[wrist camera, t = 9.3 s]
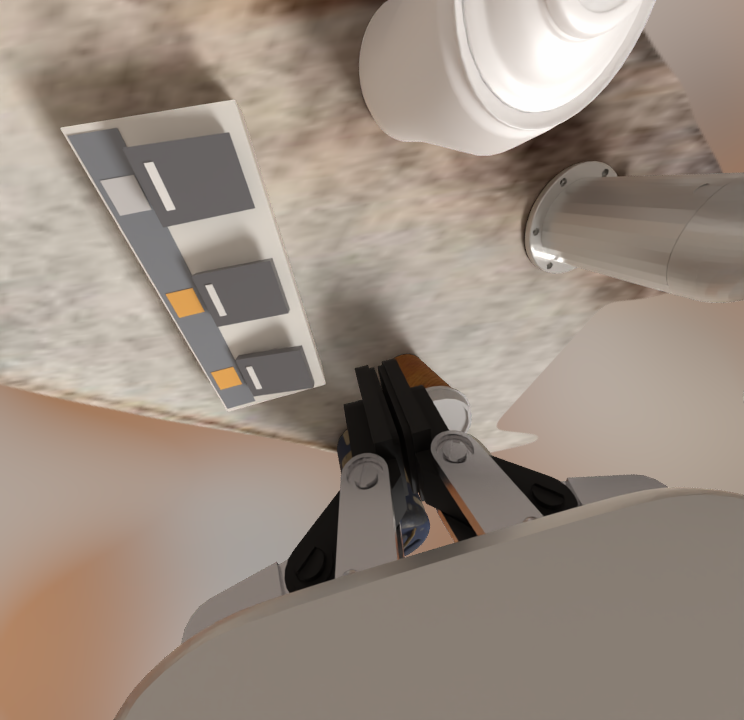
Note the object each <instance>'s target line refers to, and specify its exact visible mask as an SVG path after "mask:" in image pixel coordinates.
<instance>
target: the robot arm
mask: <svg viewBox="0 0 744 720" xmlns="http://www.w3.org/2000/svg"><path fill="white" fill-rule="evenodd" d="M525 247H526V252H527V255H528V257H529V259H530V261H531V262H532V263H533V265H534V266H536V267H537V268H538V269H540V270H543V271H545V272H549V273H554V274H555V273H564V272H568V271H571V270H573V269H575V268H577V267H578V268H582V269H585V270H589V271H592V272H596V273H599V274H603V275H606V276H610V277H614V278H617V279H621V280H624V281H628V282H631V283H635V284H638V285H642V286H645V287H649V288H653V289H656V290H660V291H663V292H667V293H670V294H674V295H678V296H682V297H686V298H689V299H693V300H697V301H702V302H711V303H713V302H714V303H726V302H735V301H741V300H744V173H716V174H683V175H650V176H617V174H616V172H615V171H614V170H613V169H612V168H611V167H610V166H609V165H607V164H605V163H603V162H598V161H588V162H582V163H577V164H574V165H572V166H570V167H568V168H566V169H565V170H563V171H562V172H560V173H559V174H557V175H556V176H555V177H554V178H553V179H552V180H551V181H550V182H549V183H548V184H547V185H546V187H545V188H544V189H543V190H542V192H541V193H540V195H539V196H538V198H537V200H536V201H535V203H534V205H533V208H532V210H531V212H530V214H529V218H528V221H527V224H526V231H525ZM355 371H356V375H357V380H358V384H359V388H360V392H361V396H362V400H360V401H356V402H352V403H348V404H344V410H345V416H346V423H347V429H348V435H349V441H350V448H351V454H352V458H351V459H350V460H349V461H348V462H347V463H346V464H345V466H344V468H343V469H342V474H341V485H340V491H339V492H338V493H337V495H336V496H335V497H334V498H333V500H332V501H331V502H330V504H329V505H328V507H327V508H326V509H325V510H324V512H323V513H322V514H321V516H320V517H319V518H318V519H317V521H316V522H315V523H314V525H313V526H312V527H311V528H310V530H309V531H308V532H307V534H306V535H305V536H304V538H303V539H302V540H301V542H300V543H299V544H298V545H297V547H296V548H295V549H294V551H293V552H292V554H291V556H290V557H289V559H288V560H286V561H284V562H283V563H281V564H278V563H277V562H276V563H274V564H272V565H270V566H268V567H266V568H265V569H263V570H261V571H260V572H257V573H256V574H254V575H252V576H250V577H248V578H246V579H245V580H243V581H241V582H239V583H237V584H236V585H234V586H232V587H230V588H229V589H227V590H225V591H223V592H221V593H219V594H217V595H216V596H214V597H212V598H210V599H209V600H207V601H206V602H205V603H203V604H202V605H201V606H199V608H198V609H197V610H196V611H195V613H194V614H193V615H192V616H191V618H190V620H189V622H188V624H187V626H186V627H185V630H184V634H183V638H182V643H181V645H180V646H179V647H177V648H176V649H175V650H174V651H173V652H171V653H170V654H169V655H168V656H166V657H165V658H164V659H163V660H162V661H161V662H160V663H159V664H158V665H156V666H155V667H154V668H153V669H152V670H151V671H150V672H149V673H148V674H147V675H146V676H145V677H144V678H143V679H142V680H141V682H140V683H139V684H138V685H137V686H136V687H135V688H134V690H133V691H132V692H131V693H130V695H129V696H128V697H127V699H126V700H125V702H124V704H123V705H122V707H121V708H120V710H119V711H118V713H117V715H116V716H115V718H114V720H744V495H743V494H738V493H733V492H728V491H722V490H714V489H704V488H689V487H671V488H668V487H667V486H666V485H664V484H663V483H661V482H659V481H657V480H656V479H653V478H650V477H647V476H644V475H613V476H595V477H576V478H567V480H566V481H563V482H560V481H559V480H557V479H555V478H552V477H550V476H547V475H545V474H542V473H539V472H536V471H533V470H530V469H528V468H525V467H522V466H519V465H516V464H514V463H511V462H508V461H505V460H502V459H499V458H497V457H494V456H491V455H488V453H487V452H486V451H485V450H484V449H483V448H482V447H481V446H480V444H479V443H478V442H477V441H476V440H475V439H474V438H473V437H472V436H470V435H469V434H467V433H465V432H462V431H457V430H449V429H448V427H447V425H446V424H445V422H444V420H443V418H442V417H441V415H440V413H439V411H438V410H437V408H436V406H435V405H434V403H433V401H432V399H431V398H430V396H429V394H428V392H427V391H426V389H425V387H424V386H423V385H419V386H415V387H411V388H410V386H409V384H408V382H407V380H406V378H405V376H404V374H403V372H402V370H401V368H400V366H399V364H398V362H397V360H396V359H395V358H394V359H390V360H386V361H382V365H381V366H378V371H379V376H380V381H381V386H382V388H381V386H380V383H379V380H378V377H377V374H376V372H375V369H374V367H373V368H369V367H368V365H366V366H362V367H358V368H355ZM743 400H744V393H743ZM404 468H405V470H404ZM405 471H406V474H407V477H408V480H409V483H410V486H411V489H412V492H413V494H414V493H418V492H419V495H420V498H421V501H425V502H426V504H429V505H431V506H433V507H434V508H436V510H437V513H438V515H439V517H440V518H441V520H442V522H443V524H444V526H445V527H446V529H447V531H448V532H449V535H450V536H451V538H452V540H453V542H454V543H453V544H449V545H446V546H443V547H439V548H436V549H432V550H429V551H426V552H422V553H419V554H416V555H412V556H409V557H406V558H405V557H404V549H403V541H402V532H401V525H400V521H401V519H402V517H403V516H404V514H405V512H406V510H407V504H406V498H405V496H407V495H409V493H408V487H407V481H406V476H405Z"/></svg>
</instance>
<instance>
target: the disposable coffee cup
mask: <svg viewBox="0 0 744 720" xmlns="http://www.w3.org/2000/svg"><path fill="white" fill-rule="evenodd" d="M395 359H396V360H397V362H398V364H399V366H400V368H401V370H402V372H403V374H404V376H405V378H406V380H407V382H408V384H409V386H410V388H411V387H415V386H419V385H423V386H424V387H425V389H426V391H427V392H428V394H429V396H430V398H431V399H432V401H433V403H434V405H435V406H436V408H437V410H438V411H439V413H440V415H441V417H442V418H443V420H444V422H445V424H446V425H447V427H448V429H449V430H457V431H462V432H465V433H467V432H468V430H469V428H470V426H471V421H472V414H471V410H470V404H469V401H468V399H467V398H466V396H465V395H464V394H462V393H461V392H460V391H458V390H456V389H453V388H451V387H450V386H449V385H448V384H447V383H446V382H445V381H444V380H442V379H441V378H440V377H439V376H438V375H437V374H436V373H435V372H434V371H432V370H431V369H430V368H429V367H428V366H427V365H426V364H425V363H424V362H422V361H421V360H420V359H419V358H418V357H416V356H415V355H411V354H403V355H400V356H397V357H395Z"/></svg>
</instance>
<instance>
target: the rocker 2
mask: <svg viewBox="0 0 744 720" xmlns="http://www.w3.org/2000/svg"><path fill="white" fill-rule="evenodd" d="M235 361H236V363H237V365H238V367H239V369H240V371H241V373H242V375H243V377H244V379H245V381H246V383H247V385H248V387H249V389H250V391H251V393H252V395H253V397H254V396H261V395H268V394H275V393H282V392H289V391H296V390H303V389H310V388H314V384H315V382H314V379H313V376H312V373H311V370H310V367H309V364H308V361H307V358H306V356H305V353H304V350H303V347H302V345H300V346H294V347H287V348H281V349H274V350H268V351H262V352H255V353H249V354H242V355H238V357H237V358H236V360H235Z"/></svg>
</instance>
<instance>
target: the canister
mask: <svg viewBox="0 0 744 720" xmlns="http://www.w3.org/2000/svg"><path fill="white" fill-rule="evenodd" d="M337 452H338V458H339V464H340V469H341V474H342V469H343V468H344V466H345V464H346V463H347V462H348V461H349V460H350V459H351V458H352V454H351V448H350V441H349V435H348V430H346V431H345V432H344V433H343V435H342V436H341V437H340V439H339V442H338V446H337ZM404 470H405V468H404ZM405 476H406V481H407V487H408V493H409V495H407V496H405V498H406V504H407V510H406V512H405V514H404V516H403V517H402V519H401V521H400V525H401V532H402V541H403V549H404V556H406V555H408V554H410V553H411V552H413V551H414V550H415V549H417V548H418V547H419V546H420V545H421V544H422V543H423V542H424V541H425V539H426V538H427V536H428V533H429V529H430V523H429V519H428V516H427V514H426V512H425V509H424V506H423V504H422V502H421V499H420V497H419V495H418V493H414V494H413V492H412V489H411V486H410V483H409V480H408V477H407V474H406V471H405Z"/></svg>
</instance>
